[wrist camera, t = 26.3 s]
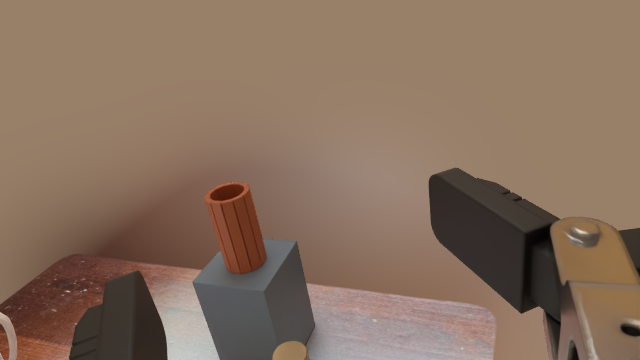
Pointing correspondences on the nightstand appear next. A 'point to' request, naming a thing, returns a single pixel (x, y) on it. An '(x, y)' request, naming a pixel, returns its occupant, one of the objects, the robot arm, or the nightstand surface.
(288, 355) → the stick
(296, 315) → the holder
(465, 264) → the robot arm
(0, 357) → the mug
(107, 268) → the nightstand surface
